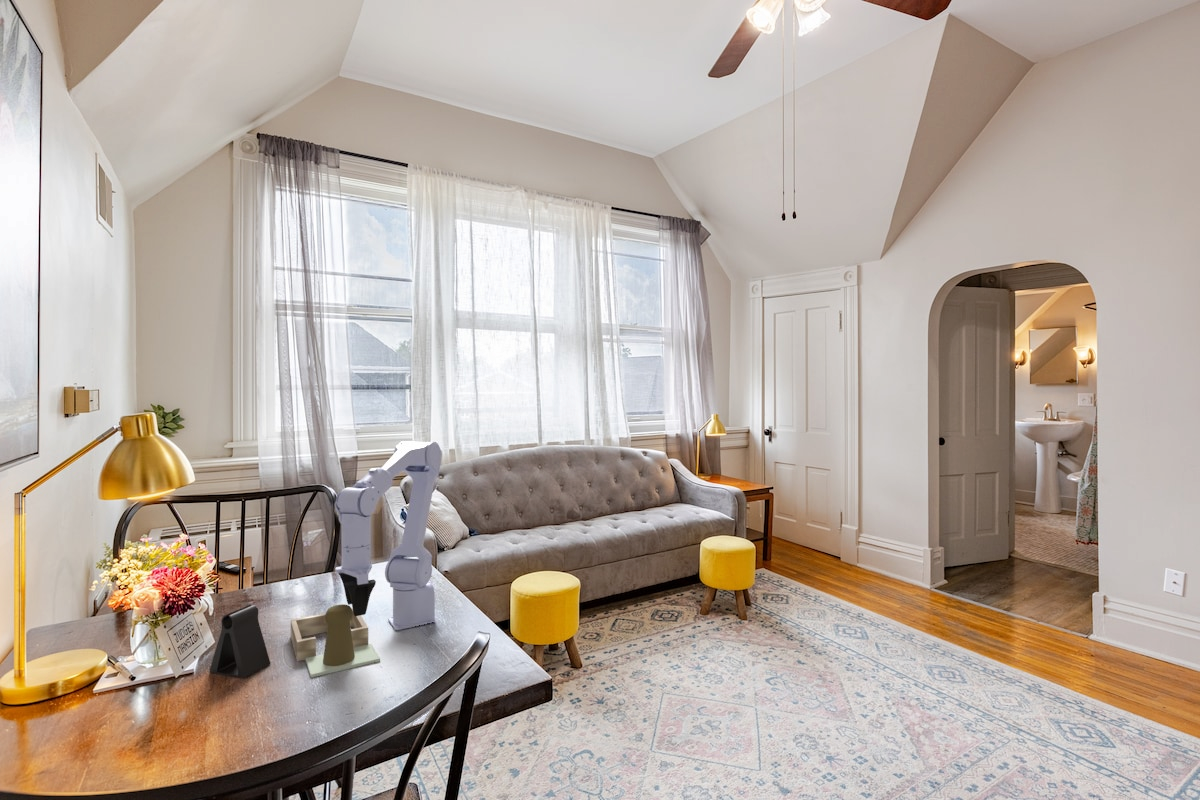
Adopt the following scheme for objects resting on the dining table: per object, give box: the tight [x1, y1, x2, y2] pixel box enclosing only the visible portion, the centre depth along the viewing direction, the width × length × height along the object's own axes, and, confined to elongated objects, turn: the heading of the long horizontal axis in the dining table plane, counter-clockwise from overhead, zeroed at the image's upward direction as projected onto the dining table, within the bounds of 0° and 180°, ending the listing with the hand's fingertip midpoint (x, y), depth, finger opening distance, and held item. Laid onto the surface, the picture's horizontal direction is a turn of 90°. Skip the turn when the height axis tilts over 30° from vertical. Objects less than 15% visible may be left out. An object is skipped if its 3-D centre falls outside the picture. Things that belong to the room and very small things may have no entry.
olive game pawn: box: [323, 604, 355, 666], centre depth 120 cm, size 6×6×11 cm
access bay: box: [290, 608, 369, 662], centre depth 130 cm, size 14×14×4 cm
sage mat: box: [305, 643, 381, 678], centre depth 121 cm, size 13×8×1 cm, turn 123°
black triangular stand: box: [208, 604, 271, 680], centre depth 117 cm, size 9×6×12 cm, turn 75°
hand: (356, 609), depth 122 cm, fingers open, 7 cm apart
